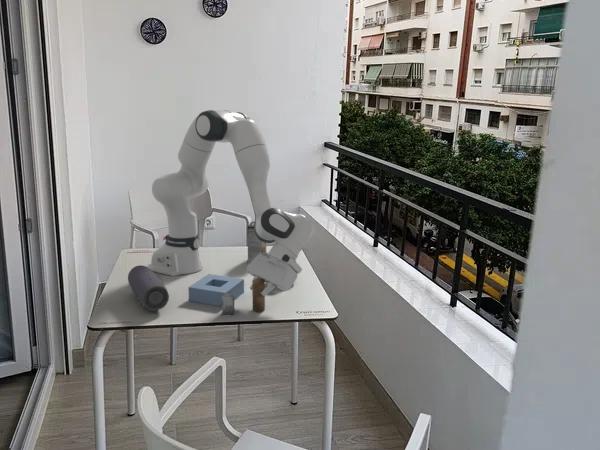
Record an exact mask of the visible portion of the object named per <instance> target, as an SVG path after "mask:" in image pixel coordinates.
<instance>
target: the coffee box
mask: <svg viewBox="0 0 600 450" xmlns="http://www.w3.org/2000/svg"><path fill="white" fill-rule="evenodd" d="M254 223H255V221H251V222H250V223H249V225H248V226H247V265H249V264H250V263H251V261H252V260H253V259H254V258H255V257H256V256H257V255H259V254H260V253H263V252H267V243H265V242H262V241H260V240H259V239H258V238H257V237H256V235H255V232H254Z"/></svg>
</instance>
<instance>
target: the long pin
mask: <svg viewBox="0 0 600 450" xmlns="http://www.w3.org/2000/svg"><path fill="white" fill-rule="evenodd" d="M251 283H252V284H251V285H252V290H251V292H252V294H251V295H252V311H253V312H255V313H263V312H264V311H266V310H265V309H266V306H265V305H266V301H265V300H266V296H262V295H261V294H260V291H261V290H262V289H264V288H266V286H265V285H266V284H265V283H266V282H265V280H263V279H255V280H253V279H252V282H251Z"/></svg>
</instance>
